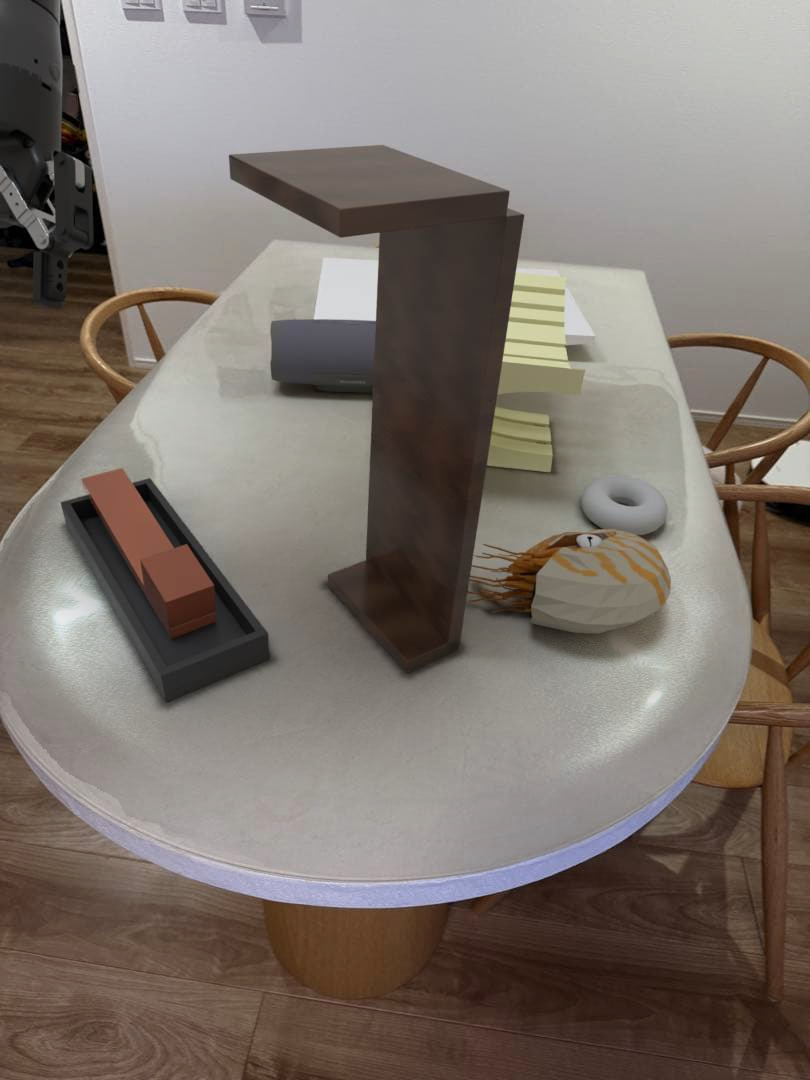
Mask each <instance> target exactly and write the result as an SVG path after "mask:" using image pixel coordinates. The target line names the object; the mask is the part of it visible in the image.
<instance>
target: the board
mask: <svg viewBox="0 0 810 1080" xmlns="http://www.w3.org/2000/svg"><path fill="white" fill-rule="evenodd" d="M378 260H379V259H377V260H376V259H359V258H358V259H357V258H341V257H340V258H339V257H338V258H337V257H322V263H321V270H320V277H319V281H318V288H317V294H316V300H315V301H316V302H315V306H314V307H315V308H314V312H313V319H334V320H367V321H376V307H377V283H378ZM516 273H526V274H536V275H547V276H557V277H562V276H561V274H560V273H559V271H558V270H557V269H544V268H543V269H542V268H523V267H517V268H516ZM564 296H565V309H564V312H565V324H564V327H565V342H566V345H565V346H575V345H576V346H577V345H593V344H595V341H596V334H595V333H594V331H593V329H592V327H591V326H590V324H589V322H588V321H587V319H586V317H585V316H584V314H583V311H582V310H581V309H580V307H579V305H578V303H577V302H576V300H575V299H574V297H573V295H572V293H571V291H570V290H569V288H568V287H567V285H566V288H565V295H564Z"/></svg>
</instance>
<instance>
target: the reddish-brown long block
mask: <svg viewBox="0 0 810 1080" xmlns="http://www.w3.org/2000/svg"><path fill="white" fill-rule="evenodd" d="M81 483H82V488H83V490H84V492H85V494H86V495H87V496H88V497H89V499H90V501H91V503H92V504H93V506H94V508H95V509H96V511H97V513H98V515H99V516H100V518H101V520H102V522H103V523H104V525H105V527H106V529H107V530H108V532H109V534H110V535H111V537H112V539H113V541H114V542H115V544H116V546H117V548H118V549H119V551H120V553H121V554H122V556H123V558H124V560H125V561H126V563H127V565H128V567H129V568H130V570H131V572H132V573H133V575H134V577H135V579H136V580H137V582H138V584H139V586H140V587H141V589H142V591H143V592H144V594H145V596H146V598H147V599H148V601H149V603H150V605H151V606H152V608H153V610H154V611H155V613H156V615H157V617H158V618H159V620H160V622H161V624H162V625H163V627H164V629H165V631H166V632H167V634H168V636H169V637H170V639H173V638H176V637H178V636H181V635H183V634H186V633H189V632H191V631H194V630H196V629H199V628H202V627H204V626H207V625H210V624H212V623H215V622H216V607H215V591H214V584H213V583H212V581H211V580H210V578H209V577H208V575H207V574H206V572H205V571H204V569H203V568H202V566H201V565H200V563H199V562H198V560H197V559H196V557H195V556H194V554H193V553H192V551H191V550H190V548H189V547H188V545H187V544H186V545H183V546H180V547H177V548H174V547H173V545H172V544H171V542H170V541H169V539H168V538H167V536H166V534H165V533H164V531H163V530H162V528H161V527H160V525H159V524H158V522H157V521H156V519H155V518H154V516H153V514H152V513H151V511H150V510H149V508H148V507H147V505H146V504H145V502H144V501H143V499H142V497H141V496H140V494H139V493H138V491H137V490H136V488H135V487H134V485H133V484H132V483H133V481H132V480H131V479H130V478H129V475H128V474H127V473H126V471H125V469H124V468H123V467H121V468H117V469H113V470H109V471H106V472H101V473H98V474H94V475H90V476H87V477H83V478H81Z"/></svg>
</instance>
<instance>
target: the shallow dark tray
mask: <svg viewBox="0 0 810 1080" xmlns="http://www.w3.org/2000/svg"><path fill="white" fill-rule="evenodd" d="M132 484H133V485H134V487H135V488H136V490H137V491H138V493H139V494H140V496H141V497H142V499H143V501H144V502H145V504H146V505H147V507H148V508H149V510H150V511H151V513H152V514H153V516H154V518H155V519H156V521H157V522H158V524H159V525H160V527H161V528H162V530H163V531H164V533H165V534H166V536H167V538H168V539H169V541H170V542H171V544H172V545H173V547H174V548H177V547H180V546H183V545H186V544H187V545H188V547H189V548H190V550H191V551H192V553H193V554H194V556H195V557H196V559H197V560H198V562H199V563H200V565H201V566H202V568H203V569H204V571H205V572H206V574H207V575H208V577H209V578H210V580H211V581H212V583H213V584H214V591H215V607H216V622H215V623H212V624H210V625H207V626H204V627H202V628H199V629H196V630H194V631H191V632H189V633H186V634H183V635H181V636H178V637H176V638H173V639H170V637H169V636H168V634H167V632H166V631H165V629H164V627H163V625H162V624H161V622H160V620H159V618H158V617H157V615H156V613H155V611H154V610H153V608H152V606H151V605H150V603H149V601H148V599H147V598H146V596H145V594H144V592H143V591H142V589H141V587H140V586H139V584H138V582H137V580H136V579H135V577H134V575H133V573H132V572H131V570H130V568H129V567H128V565H127V563H126V561H125V560H124V558H123V556H122V554H121V553H120V551H119V549H118V548H117V546H116V544H115V542H114V541H113V539H112V537H111V535H110V534H109V532H108V530H107V529H106V527H105V525H104V523H103V522H102V520H101V518H100V516H99V515H98V513H97V511H96V509H95V508H94V506H93V504H92V503H91V501H90V499H89V497H88V496H87V494H86V495H81V496H78V497H75V498H70V499H67V500H63V501H60V506H61V510H62V514H63V518H64V522H65V526H66V528H67V530H68V532H69V533H70V535H71V537H72V539H73V540H74V543H75V544H76V546H77V547H78V549H79V551H80V553H81V555H82V556H83V559H84V560H85V562H86V564H87V565H88V567H89V569H90V571H91V572H92V575H93V576H94V578H95V579H96V581H97V583H98V585H99V587H100V589H101V590H102V592H103V594H104V595H105V597H106V599H107V602H108V603H109V604H110V606H111V607H112V609H113V611H114V614H115V615H116V617H117V618H118V620H119V622H120V624H121V625H122V627H123V629H124V631H125V632H126V634H127V637H128V638H129V639H130V641H131V643H132V645H133V647H134V649H135V650H136V652H137V653H138V655H139V657H140V659H141V661H142V662H143V664H144V666H145V668H146V670H147V671H148V673H149V675H150V677H151V678H152V680H153V682H154V684H155V685H156V687H157V689H158V690H159V692H160V694H161V696H162V697H163V700H164V702H166V703H168V702H170V701H172V700H175V699H177V698H179V697H182V696H184V695H187V694H188V693H191V692H194V691H196V690H199V689H200V688H203V687H206V686H208V685H211V684H213V683H215V682H218V681H220V680H222V679H224V678H227V677H229V676H232V675H234V674H236V673H239V672H241V671H244V670H246V669H249V668H251V667H253V666H255V665H256V666H257V665H258V664H260V663H263V662H265V661H268V660H270V643H269V633H268V631H267V630H266V629H265V627H264V626H263V625H262V623H261V622H260V621H259V620H258V618H257V617H256V616H255V614H254V613H253V612H252V610H251V609H250V608H249V606H248V605H247V604H246V603H245V601H244V600H243V599H242V597H241V596H240V595H239V593H238V592H237V590H236V589H235V588H234V587H233V585H232V584H231V583H230V581H229V580H228V579H227V577H226V576H225V575H224V573H223V572H222V571H221V570H220V568H219V567H218V565H217V564H216V563H215V561H214V560H213V559H212V557H211V556H210V554H208V552H207V551H206V550H205V548H204V547H203V546H202V545H201V543H200V542H199V540H198V539H197V537H196V536H195V535H194V534H193V532H192V531H191V530H190V528H189V527H188V526H187V525H186V523H185V522H184V521H183V519H182V518H181V517H180V516H179V514H178V513H177V511H176V510H175V509H174V508H173V506H172V505H171V503H170V502H169V501H168V499H167V498H166V497H165V496H164V494H163V493H162V492H161V490H160V489H159V488H158V486H157V485H156V483H154V481H153V480H152V478H151V477H148V478H145V479H141V480H138V481H134V482H133V481H132Z"/></svg>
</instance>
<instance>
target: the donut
mask: <svg viewBox="0 0 810 1080" xmlns="http://www.w3.org/2000/svg"><path fill="white" fill-rule="evenodd" d="M580 504H581V508H582V512H583V513H584V515H585V516H586V517H587V519H589V520H590V522H592V523H593V524H595V526H597V527H599V528H601V529H615V530H620V531H625V532H630V533H632V534H635V535H637V536H645V535H648V534H650V533H653V532H655V531H657V530H658V529H659V528H660V527H662V525H663V524H665V522H666V520H667V516H668V512H669V506H668V504H667V501H666V498H665V496H664V495H663V494H662V492H660V490H659V489H658V488H656V487H655V486H653V485H651V484H650V483H648V482H647V481H644V480H642V479H640V478H637V477H632V476H630V475H629V476H628V475H623V474H622V475H621V474H609V475H602V476H600V477H597V478H595V479H592V481H590V482H588V484H586V485H585V486H584V488H583V491H582V493H581V495H580Z"/></svg>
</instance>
